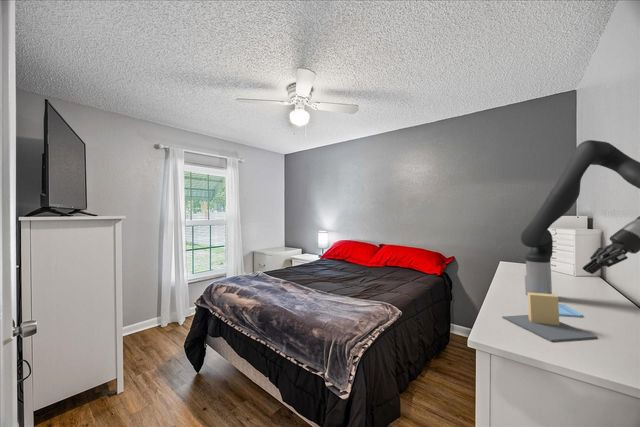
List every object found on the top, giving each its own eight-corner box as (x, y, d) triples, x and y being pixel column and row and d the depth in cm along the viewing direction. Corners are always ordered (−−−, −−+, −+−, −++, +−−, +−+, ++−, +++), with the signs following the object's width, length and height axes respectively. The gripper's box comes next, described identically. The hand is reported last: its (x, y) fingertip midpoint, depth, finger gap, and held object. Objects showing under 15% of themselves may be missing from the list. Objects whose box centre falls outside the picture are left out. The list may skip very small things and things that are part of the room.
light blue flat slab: (584, 319, 101) (584, 315, 102) (546, 316, 105) (546, 312, 105) (564, 307, 114) (564, 304, 114) (531, 305, 118) (531, 302, 118)
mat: (502, 318, 103) (502, 316, 103) (540, 315, 105) (540, 314, 105) (551, 341, 84) (550, 339, 84) (597, 338, 85) (597, 336, 85)
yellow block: (531, 322, 97) (530, 294, 97) (528, 318, 100) (527, 292, 101) (559, 325, 94) (558, 297, 94) (555, 321, 97) (554, 294, 97)
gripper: (611, 227, 94) (568, 260, 99) (636, 229, 82) (585, 266, 87) (633, 242, 92) (587, 275, 97) (662, 246, 80) (608, 284, 85)
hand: (587, 271), depth 92 cm, fingers closed
